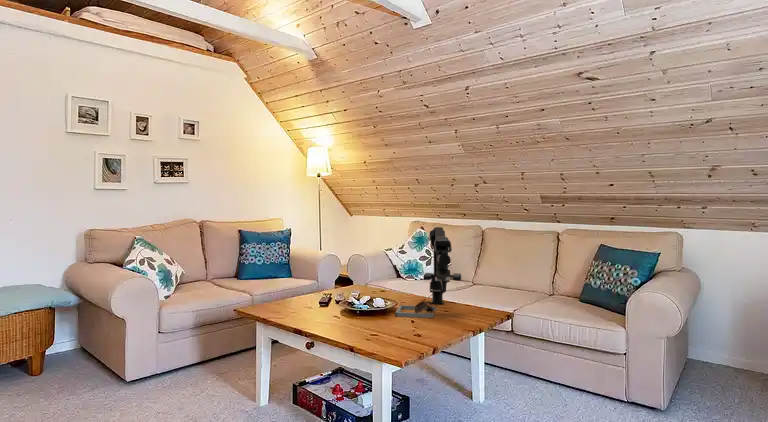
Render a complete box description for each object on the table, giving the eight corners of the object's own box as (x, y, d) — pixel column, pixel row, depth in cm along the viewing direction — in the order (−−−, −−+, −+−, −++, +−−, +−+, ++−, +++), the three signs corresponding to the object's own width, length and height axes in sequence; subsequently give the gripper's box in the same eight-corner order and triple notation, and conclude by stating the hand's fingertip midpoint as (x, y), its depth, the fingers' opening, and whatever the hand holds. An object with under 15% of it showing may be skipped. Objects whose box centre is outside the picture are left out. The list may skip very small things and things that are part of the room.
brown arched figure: (433, 319, 247) (424, 305, 246) (417, 325, 251) (409, 311, 251) (439, 307, 258) (431, 294, 257) (424, 314, 262) (416, 300, 261)
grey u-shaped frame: (400, 308, 267) (400, 305, 267) (436, 310, 263) (436, 306, 263) (395, 316, 251) (394, 312, 251) (433, 317, 247) (433, 313, 247)
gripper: (422, 265, 247) (422, 296, 248) (460, 265, 243) (460, 297, 244) (424, 261, 258) (425, 291, 259) (461, 262, 254) (461, 292, 255)
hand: (442, 293), depth 254 cm, fingers closed
